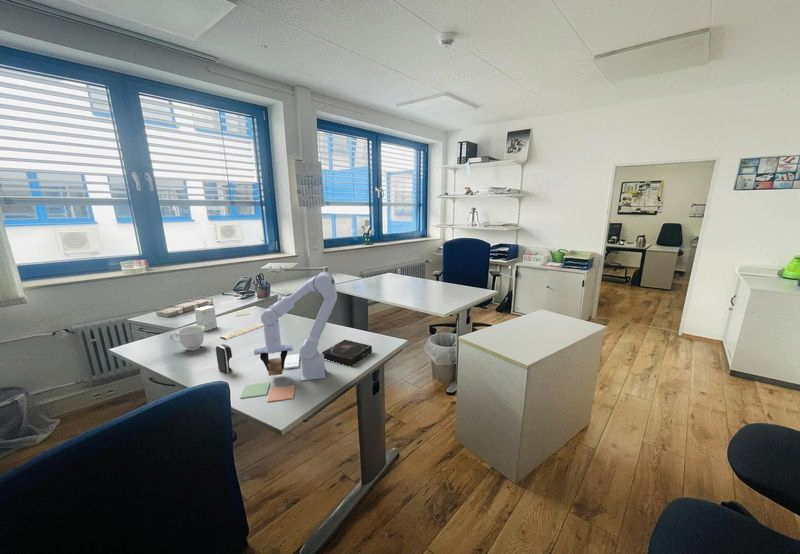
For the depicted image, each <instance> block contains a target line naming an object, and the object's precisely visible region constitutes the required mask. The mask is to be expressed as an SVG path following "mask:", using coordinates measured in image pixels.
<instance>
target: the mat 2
mask: <svg viewBox="0 0 800 554" xmlns="http://www.w3.org/2000/svg"><path fill="white" fill-rule="evenodd" d="M269 389H270V390H269V393H268V397H267V401H266V402H267V403H272V402H280V401H286V400H294V397H295V389H296V384H295V385H294V384H292V385H286V386H285V385H284V386H278V387H270V388H269Z"/></svg>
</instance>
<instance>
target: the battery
mask: <svg viewBox="0 0 800 554" xmlns="http://www.w3.org/2000/svg"><path fill="white" fill-rule="evenodd" d="M215 354H216V359H217V360H216V361H217V368H218V371H221V372H222V373H225V374H228V373H231V372H232V371H233V369H232V368H231V366H230V360H231V358H233V353H232V348H231V347H230V345H227V344H224V343H223V344H219V345H217V346H215Z"/></svg>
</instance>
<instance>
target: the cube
mask: <svg viewBox="0 0 800 554" xmlns="http://www.w3.org/2000/svg"><path fill="white" fill-rule="evenodd" d="M283 371H284V370H283V369H282V362H281V357H275V358H273V357H272V358H269V362H268V371H267V372H268V376H269V377H270V376H278V375H282V374H283Z"/></svg>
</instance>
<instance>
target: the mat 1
mask: <svg viewBox="0 0 800 554" xmlns="http://www.w3.org/2000/svg"><path fill="white" fill-rule="evenodd" d="M270 384H271V381H266V382H258V383H249V384H245V385H244V388H243V391H242V392H241V395H240V399H246V398H247V399H248V398H255V397H256V398H257V397H263V396H267V395H268V392H269V389H270V386H271V385H270Z"/></svg>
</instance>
